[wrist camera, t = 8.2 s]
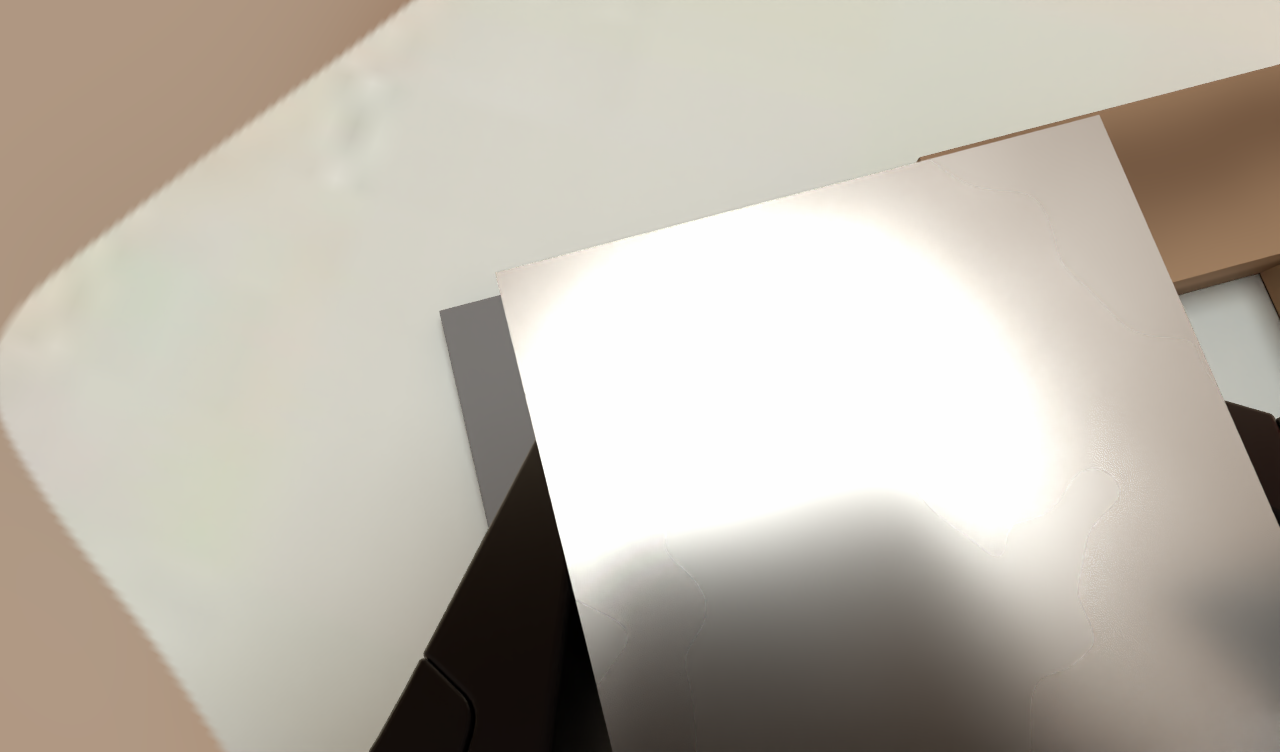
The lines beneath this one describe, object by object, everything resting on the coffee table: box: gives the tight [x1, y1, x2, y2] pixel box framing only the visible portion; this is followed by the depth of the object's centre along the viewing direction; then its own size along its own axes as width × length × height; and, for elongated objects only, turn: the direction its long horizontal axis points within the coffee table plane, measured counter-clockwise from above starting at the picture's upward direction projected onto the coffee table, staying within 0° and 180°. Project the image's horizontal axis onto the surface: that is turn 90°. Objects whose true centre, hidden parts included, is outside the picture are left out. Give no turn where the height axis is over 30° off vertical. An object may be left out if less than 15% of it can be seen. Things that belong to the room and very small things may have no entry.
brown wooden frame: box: [917, 64, 1280, 316], centre depth 19 cm, size 14×12×2 cm
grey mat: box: [440, 295, 536, 527], centre depth 19 cm, size 14×10×1 cm
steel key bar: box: [495, 115, 1280, 752], centre depth 10 cm, size 4×4×11 cm
